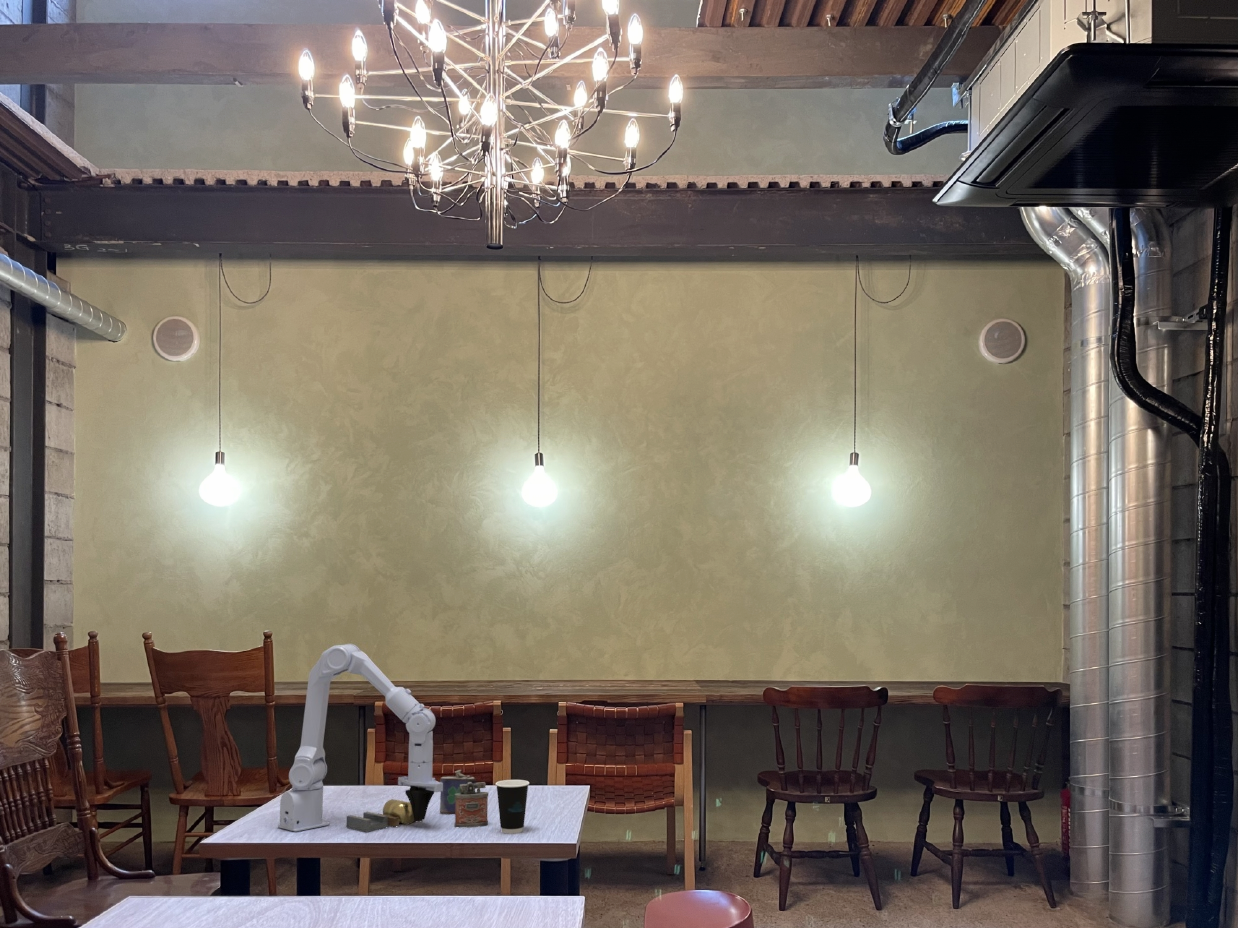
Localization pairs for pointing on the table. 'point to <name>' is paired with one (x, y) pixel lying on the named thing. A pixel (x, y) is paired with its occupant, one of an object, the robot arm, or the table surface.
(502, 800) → the dixie cup
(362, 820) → the v block
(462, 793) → the lighter
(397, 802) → the gold capsule
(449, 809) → the flask
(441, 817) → the table surface
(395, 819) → the brown u-shaped block
